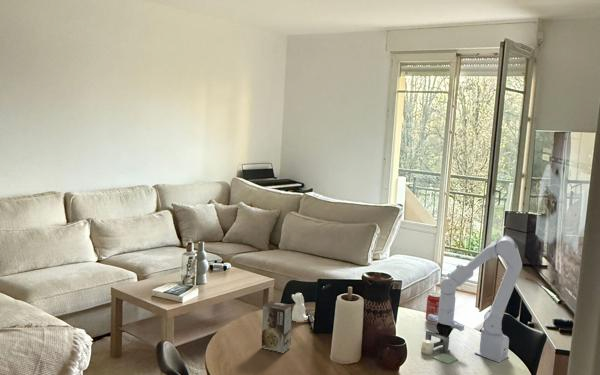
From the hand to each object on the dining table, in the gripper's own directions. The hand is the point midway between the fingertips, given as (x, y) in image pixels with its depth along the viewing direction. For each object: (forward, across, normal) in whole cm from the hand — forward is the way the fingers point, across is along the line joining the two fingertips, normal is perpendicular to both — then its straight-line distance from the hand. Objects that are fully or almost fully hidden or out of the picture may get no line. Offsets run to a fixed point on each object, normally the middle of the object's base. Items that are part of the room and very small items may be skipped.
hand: (443, 343), depth 209 cm
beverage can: (+1, +17, -19) cm, 26 cm away
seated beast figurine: (+1, +51, +27) cm, 58 cm away
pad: (+1, -7, +10) cm, 12 cm away
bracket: (+1, 0, +5) cm, 5 cm away
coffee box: (+1, +36, +53) cm, 64 cm away
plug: (+1, 0, +8) cm, 8 cm away
